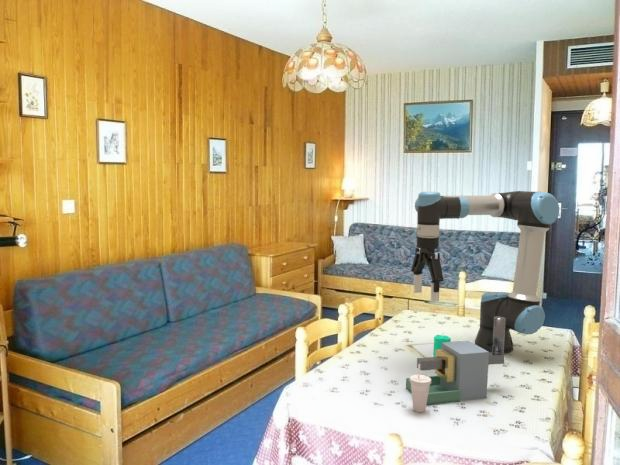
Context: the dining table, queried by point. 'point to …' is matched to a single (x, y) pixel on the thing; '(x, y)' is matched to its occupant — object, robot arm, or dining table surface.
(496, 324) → the l-shaped bracket
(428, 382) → the smoothie
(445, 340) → the candle
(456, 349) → the bearing block
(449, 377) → the spacer
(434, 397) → the tray
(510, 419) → the dining table surface
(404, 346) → the dining table surface
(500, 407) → the dining table surface
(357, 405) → the dining table surface
